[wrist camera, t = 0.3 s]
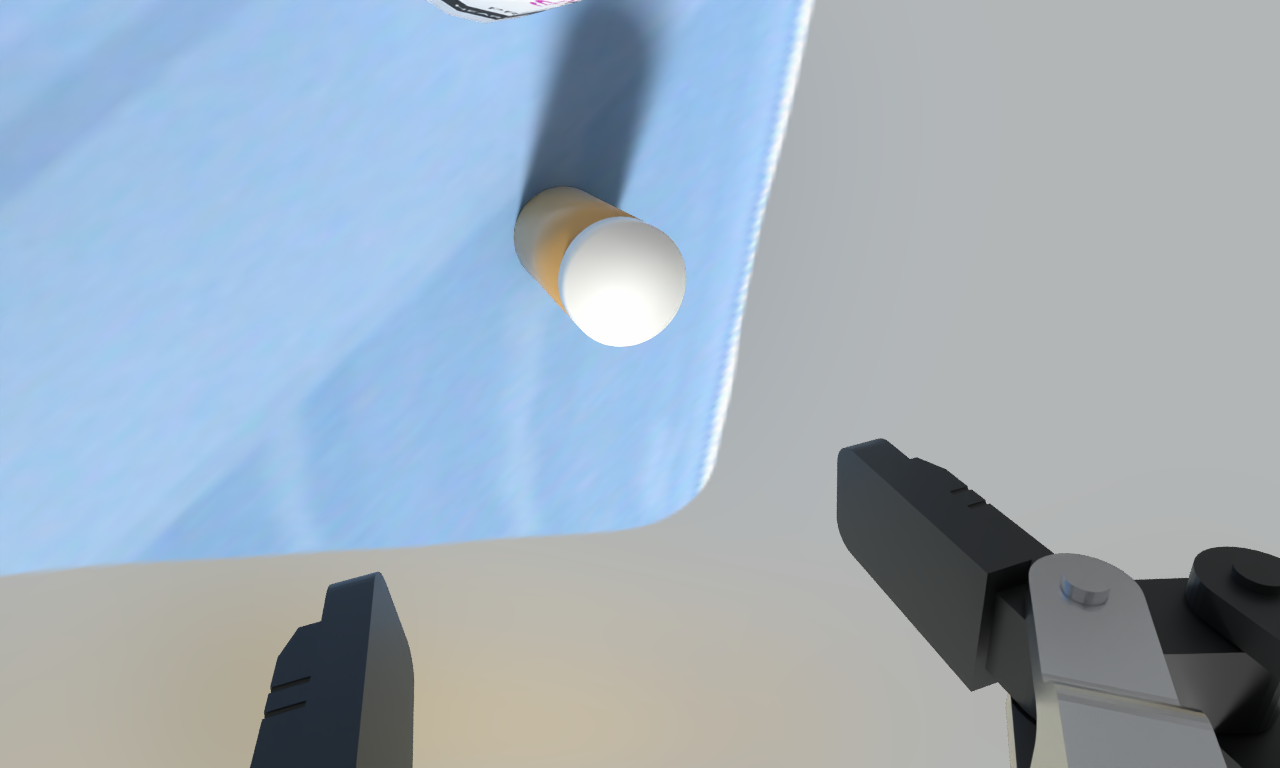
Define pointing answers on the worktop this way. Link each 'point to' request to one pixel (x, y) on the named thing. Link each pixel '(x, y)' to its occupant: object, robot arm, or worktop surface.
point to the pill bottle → (601, 265)
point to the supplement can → (496, 8)
